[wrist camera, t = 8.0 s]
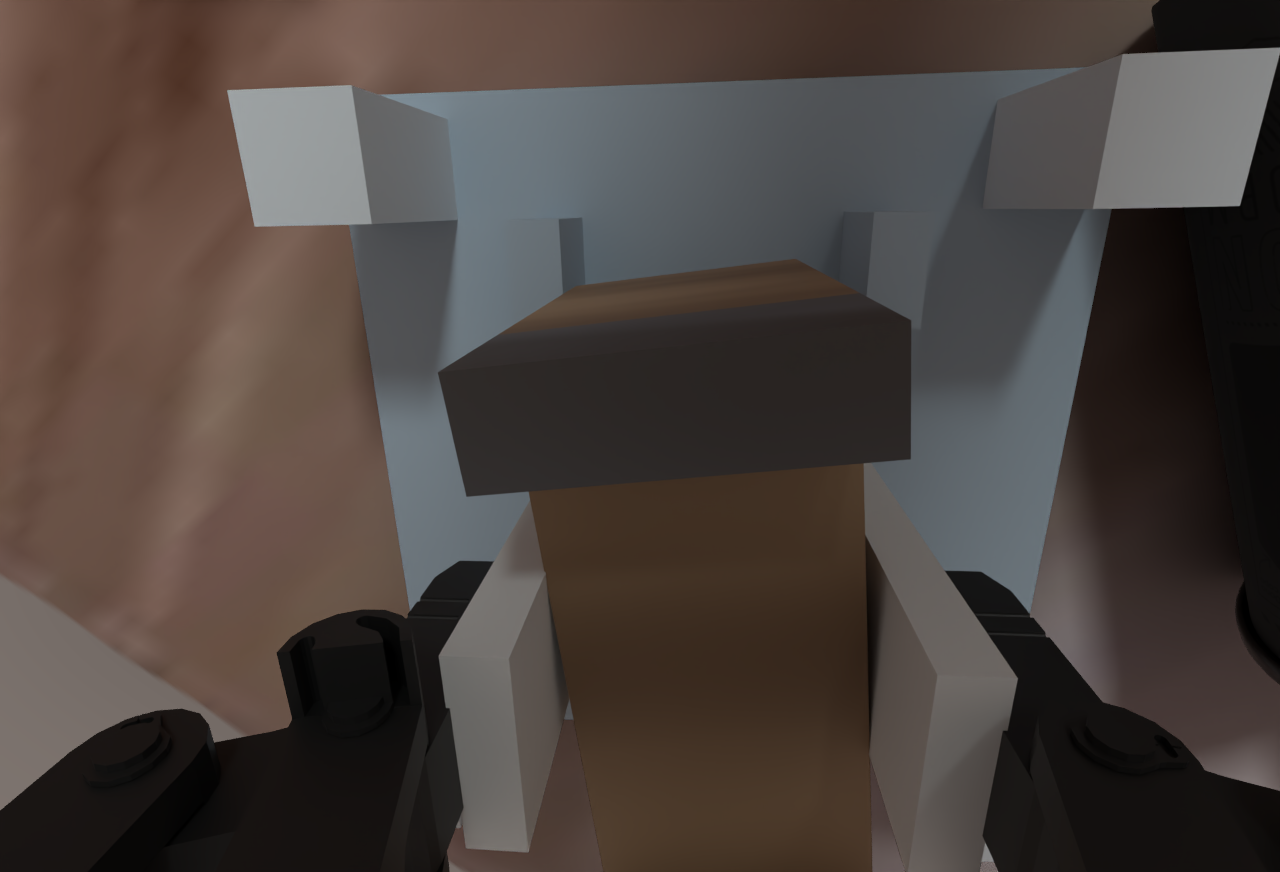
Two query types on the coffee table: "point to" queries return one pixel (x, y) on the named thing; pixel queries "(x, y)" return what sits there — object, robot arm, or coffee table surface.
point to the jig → (763, 243)
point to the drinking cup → (1243, 314)
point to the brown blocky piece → (703, 547)
